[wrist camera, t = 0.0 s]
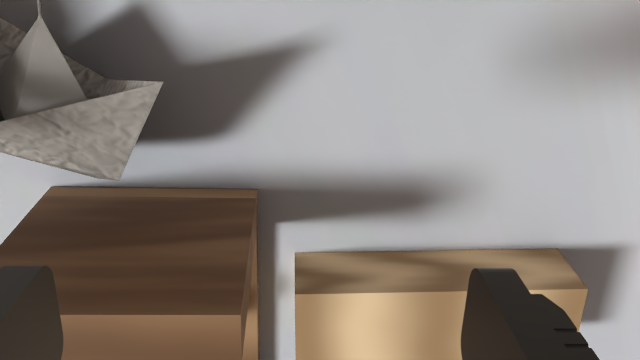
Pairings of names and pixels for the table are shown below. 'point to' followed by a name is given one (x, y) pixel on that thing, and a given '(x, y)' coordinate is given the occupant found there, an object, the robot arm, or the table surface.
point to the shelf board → (409, 299)
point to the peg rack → (147, 270)
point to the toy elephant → (66, 106)
